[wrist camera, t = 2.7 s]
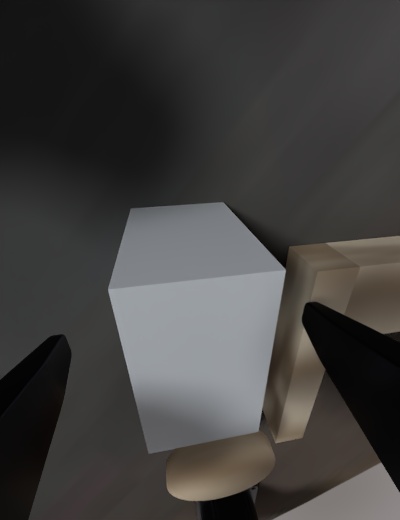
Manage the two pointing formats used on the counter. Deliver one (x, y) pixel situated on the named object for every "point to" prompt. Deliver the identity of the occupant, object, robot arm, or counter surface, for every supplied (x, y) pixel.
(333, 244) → the notched board
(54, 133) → the counter surface
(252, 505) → the robot arm
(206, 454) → the wooden spool
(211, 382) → the tall pale grey block
